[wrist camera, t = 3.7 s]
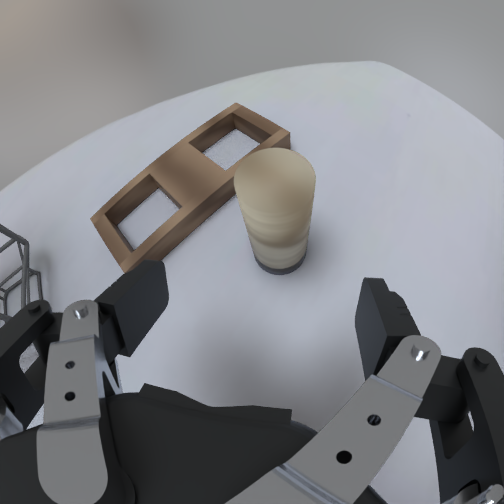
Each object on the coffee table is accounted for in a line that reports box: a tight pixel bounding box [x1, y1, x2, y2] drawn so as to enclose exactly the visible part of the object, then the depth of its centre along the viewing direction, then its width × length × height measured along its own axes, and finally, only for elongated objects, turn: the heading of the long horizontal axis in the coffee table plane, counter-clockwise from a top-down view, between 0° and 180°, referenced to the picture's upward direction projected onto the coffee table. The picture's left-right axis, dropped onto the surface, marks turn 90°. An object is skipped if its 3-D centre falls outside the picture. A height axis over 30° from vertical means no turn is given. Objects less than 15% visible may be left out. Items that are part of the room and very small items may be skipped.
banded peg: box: [234, 148, 316, 275], centre depth 19 cm, size 4×4×10 cm
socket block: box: [90, 103, 290, 273], centre depth 26 cm, size 20×8×2 cm, turn 134°
